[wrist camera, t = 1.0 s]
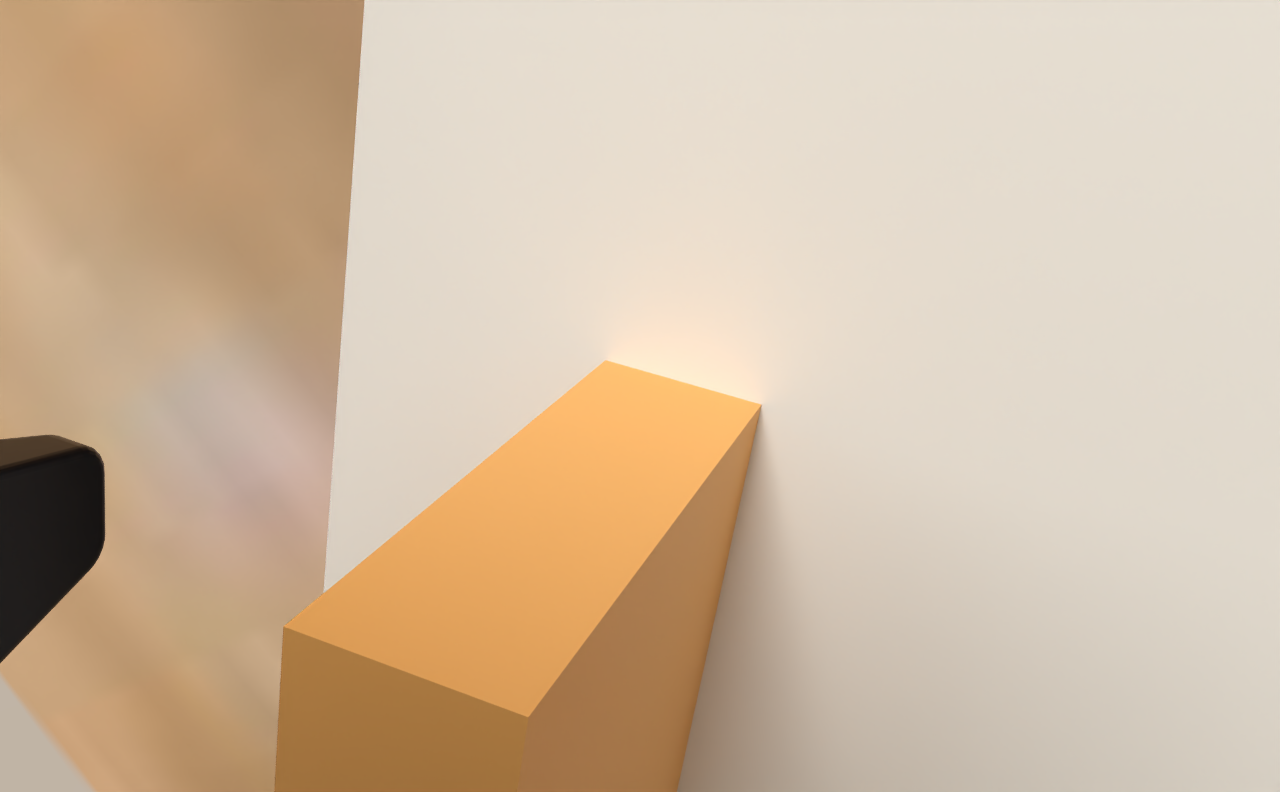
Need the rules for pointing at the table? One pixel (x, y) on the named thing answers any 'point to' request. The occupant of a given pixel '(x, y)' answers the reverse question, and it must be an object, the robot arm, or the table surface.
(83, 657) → the table surface
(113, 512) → the table surface
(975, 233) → the flap
